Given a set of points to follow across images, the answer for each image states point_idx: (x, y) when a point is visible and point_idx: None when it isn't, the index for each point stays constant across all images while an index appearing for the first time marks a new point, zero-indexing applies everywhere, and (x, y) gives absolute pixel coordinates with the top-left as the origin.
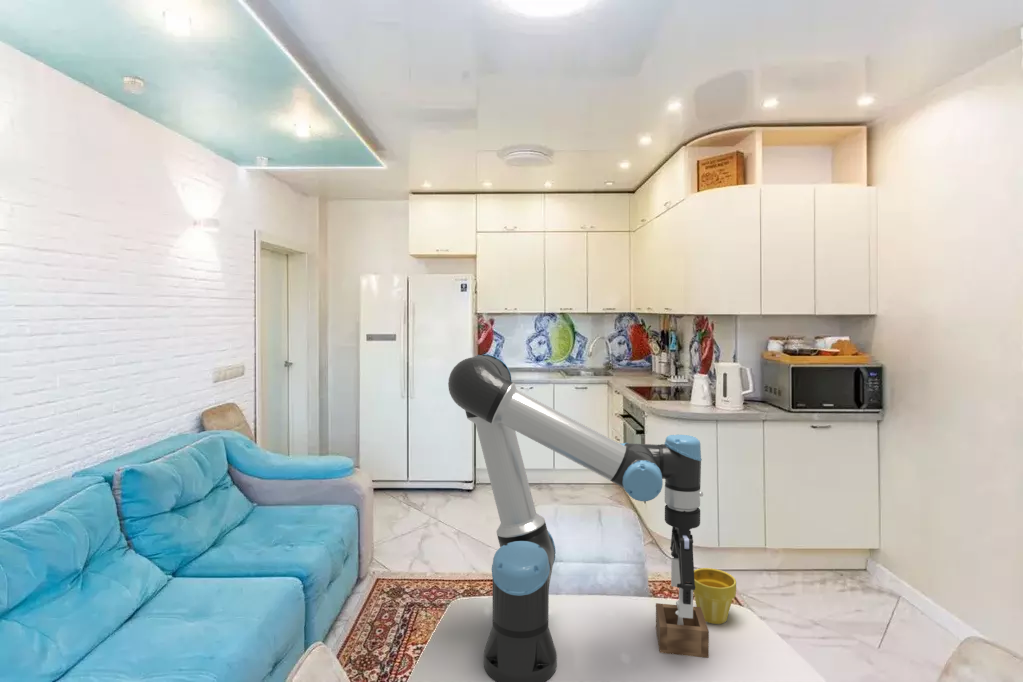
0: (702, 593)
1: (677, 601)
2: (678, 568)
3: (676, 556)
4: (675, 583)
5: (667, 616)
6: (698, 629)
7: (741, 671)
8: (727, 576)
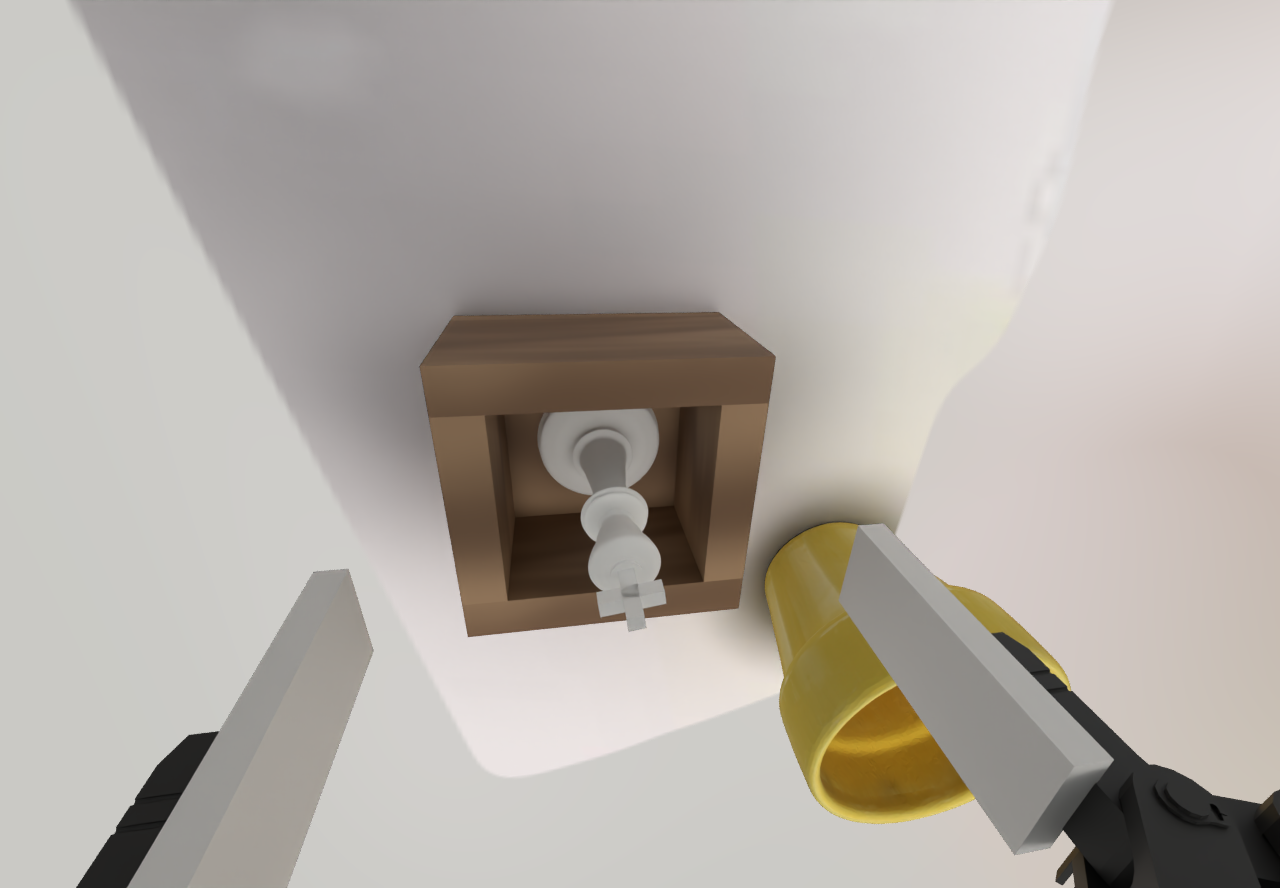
0: (828, 653)
1: (632, 552)
2: (953, 709)
3: (1104, 825)
4: (865, 570)
5: (701, 407)
6: (469, 592)
7: (425, 638)
8: (961, 780)
